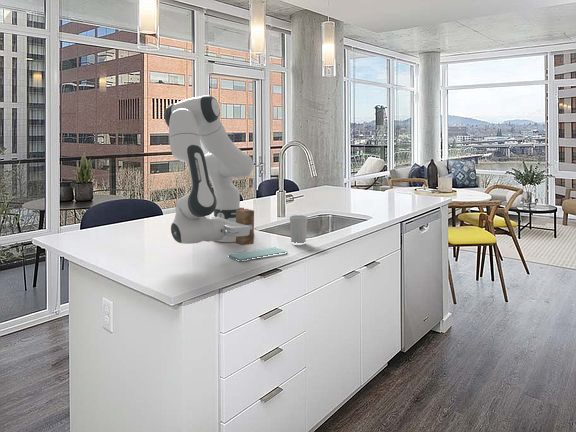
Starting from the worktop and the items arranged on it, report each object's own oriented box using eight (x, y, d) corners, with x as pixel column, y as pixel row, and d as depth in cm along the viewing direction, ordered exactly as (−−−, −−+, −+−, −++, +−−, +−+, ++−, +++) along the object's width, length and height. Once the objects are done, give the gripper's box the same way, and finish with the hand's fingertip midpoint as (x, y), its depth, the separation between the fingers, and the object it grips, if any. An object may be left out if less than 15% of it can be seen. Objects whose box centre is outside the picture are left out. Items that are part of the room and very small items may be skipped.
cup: (311, 244, 222) (311, 217, 220) (298, 246, 217) (298, 219, 215) (298, 241, 228) (299, 214, 226) (285, 243, 223) (285, 216, 220)
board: (240, 261, 191) (240, 259, 191) (228, 256, 198) (228, 254, 198) (287, 253, 204) (287, 251, 204) (274, 249, 211) (274, 247, 211)
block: (242, 245, 193) (242, 211, 191) (235, 242, 197) (235, 209, 195) (253, 243, 196) (254, 210, 194) (246, 241, 200) (247, 208, 198)
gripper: (229, 224, 179) (262, 221, 187) (202, 216, 195) (233, 213, 203) (229, 242, 180) (261, 238, 188) (202, 232, 196) (233, 229, 204)
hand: (246, 225), depth 196 cm, fingers closed on block, 5 cm apart
